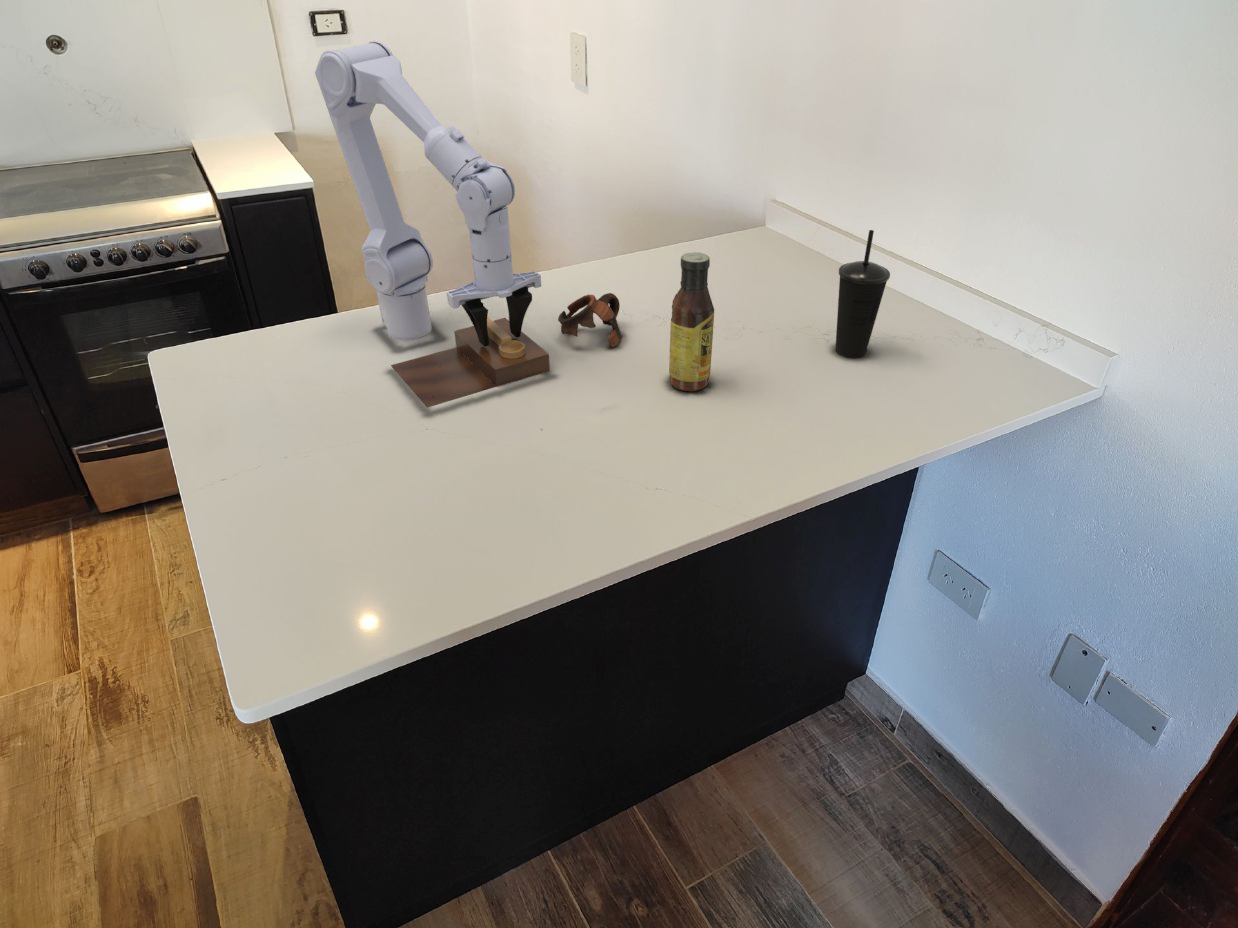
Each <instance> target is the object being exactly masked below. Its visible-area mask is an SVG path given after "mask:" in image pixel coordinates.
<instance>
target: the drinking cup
mask: <svg viewBox="0 0 1238 928" xmlns="http://www.w3.org/2000/svg"><path fill="white" fill-rule="evenodd" d="M874 232H875V231H874V230H873V229H869V230H868V235H867V241H866V245H865V246H866V247H865V254H864V258H863V260H856V261H852V262H848V263H844V264H842V265H840V267H839V268H838V271H837V272H838V273H837V274H838V275H839V285H838V300H837V301H838V302H837V315H836V317H837V318H836V330H835V331H836V332H835V333H836V334H835V349H834V350H835V352H836V354H837V355H838V356H840V357H843V358H848V359H860V358H862V357H864V356H865V355H866V353H867V351H868V347H869V344H870V340H871V337H872V335H873V334H872V333H873V329H874V327H875V323H876V320H877V317H878V312H879V309H880V306H881V302H882V300H883V296H884V292H885V289H886V286H887V282H888V281H889V279H890V278H891V272H890V270H888V268H886V267H885V266H882V265H880V264H878V263H876V262H873V261H869V260H870V255H871V249H872V244H873V239H874Z"/></svg>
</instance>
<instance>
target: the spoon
mask: <svg viewBox="0 0 1238 928" xmlns="http://www.w3.org/2000/svg"><path fill="white" fill-rule="evenodd" d="M493 321H494V320H492V319H491V318H490V317H488V316H487V330H488V337H489V338H491V339H492V340H493V341H494V342H495V343H496V344H497V345H498V346H499V354H500V356H501V357H503V358H507V359H515V358H519V357H522V356H523V355H524V354H525V352H526V351H525V344H524V343H523V342H521V341H516V340H511V336H510V335H508V334H507V333H506V332H505V331H504V330H503V329H501V328H500V327H499V326H498V325H497V324H496V323H494V322H493Z"/></svg>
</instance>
